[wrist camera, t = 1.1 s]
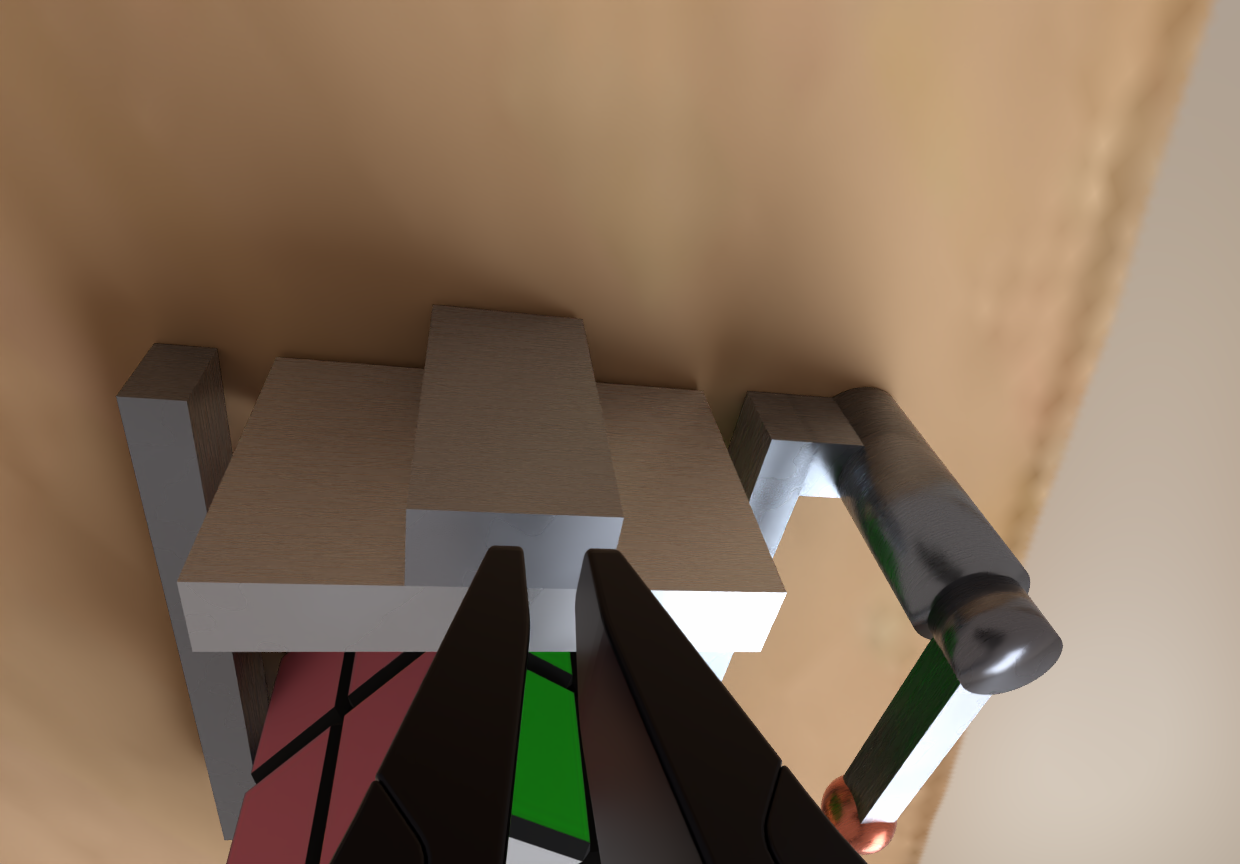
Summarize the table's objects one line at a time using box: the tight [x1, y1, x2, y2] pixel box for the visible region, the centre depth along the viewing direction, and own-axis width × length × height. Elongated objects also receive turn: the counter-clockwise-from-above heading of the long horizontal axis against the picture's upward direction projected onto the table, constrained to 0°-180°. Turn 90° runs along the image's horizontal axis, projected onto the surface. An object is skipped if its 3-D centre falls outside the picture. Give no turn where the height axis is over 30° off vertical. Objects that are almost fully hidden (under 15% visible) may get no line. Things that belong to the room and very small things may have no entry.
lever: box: [821, 575, 1063, 855], centre depth 20 cm, size 11×2×2 cm, turn 169°
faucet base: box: [116, 343, 1030, 840], centre depth 25 cm, size 22×22×8 cm
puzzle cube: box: [226, 652, 601, 864], centre depth 24 cm, size 10×10×10 cm
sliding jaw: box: [177, 305, 786, 652], centre depth 18 cm, size 4×12×8 cm, turn 80°
